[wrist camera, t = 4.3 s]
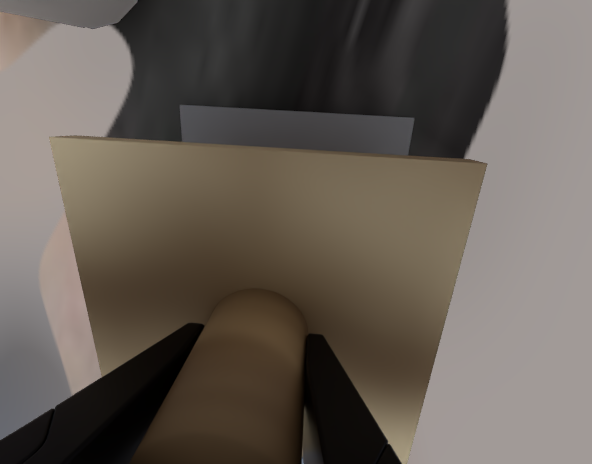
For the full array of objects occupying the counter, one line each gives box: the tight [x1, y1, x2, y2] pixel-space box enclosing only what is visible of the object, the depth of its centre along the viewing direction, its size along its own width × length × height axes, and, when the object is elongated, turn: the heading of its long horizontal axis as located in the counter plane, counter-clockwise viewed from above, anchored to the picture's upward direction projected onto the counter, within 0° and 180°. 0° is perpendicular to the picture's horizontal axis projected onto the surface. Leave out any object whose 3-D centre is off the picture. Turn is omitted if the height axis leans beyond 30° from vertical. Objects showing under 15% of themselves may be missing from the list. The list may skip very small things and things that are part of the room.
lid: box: [49, 136, 487, 464], centre depth 7 cm, size 10×10×5 cm
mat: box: [180, 105, 415, 156], centre depth 18 cm, size 12×12×1 cm
